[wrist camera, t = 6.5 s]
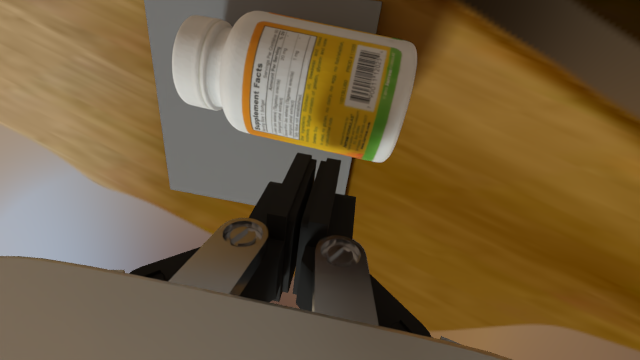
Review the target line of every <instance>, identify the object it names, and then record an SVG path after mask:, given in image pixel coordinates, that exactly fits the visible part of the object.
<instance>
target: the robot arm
mask: <svg viewBox="0 0 640 360" xmlns="http://www.w3.org/2000/svg"><path fill="white" fill-rule="evenodd" d="M316 163H317V160H316V159H312V155H309V154H303V153H297V154H296V156H295V158H294V160H293V162H292V164H291V166H290V168H289V170H288V172H287V174H286V176H285V178H284V180H283V182H282V183H277V182H272V181H270V182H269V183H268V185H267V187H266V188H265V190H264V192H263V194H262V195H261V197H260V199H259V201H258V202H257V204H256V206H255V208H254V209H253V211H252V213H251V215H250V216H249V218H237V219H232V220H230V221H228V222H226V223H224V224H223V225H222V226H220V228H219V229H218V230H217V231H216V232H215V233H214V234H213V235H212V236H211V237H210V238H209V239H208V240H207V241H206V242H205V243H204V244H203V245H202V246H201V247H199V248H196V249H193V250H190V251H187V252H184V253H181V254H178V255H175V256H172V257H169V258H166V259H163V260H160V261H157V262H154V263H151V264H148V265H145V266H142V267H140V268H138V269H136V270H133V271H132V272H130V273H129V274H128V273H125V271H124V270H107V269H102V268H97V267H92V266H86V265H80V264H74V263H68V262H61V261H56V260H49V259H43V258H31V257H21V256H0V360H512V359H509V358H506V357H503V356H500V355H497V354H494V353H491V352H488V351H484V350H480V349H476V348H472V347H468V346H464V345H461V344H459V343H456V342H454V341H452V340H449V339H447V338H444V337H442V336H441V338H440V339H436V338H433V337H431V335H430V333H429V332H428V330H427V329H426V328H425V327H424V326H423V324H422V323H420V322H419V321H418V320H417V319H416V318H415V317H414V316H413V315H412V314H411V313H410V312H409V311H408V310H407V309H406V308H405V307H404V306H403V305H402V304H401V303H400V302H399V301H398V300H396V299H395V298H394V297H393V296H392V295H391V294H390V293H389V292H388V291H387V290H386V289H385V288H384V287H383V286H382V285H381V284H380V283H379V282H378V281H377V280H376V279H375V278H374V277H372V276H371V275H370V274H369V268H368V263H367V257H366V253H365V251H364V249H363V247H362V246H361V245H360V244H359V243H358V242H356V241H355V240H353V239H352V236H353V225H354V213H355V202H356V197H353V196H348V195H342V194H337V193H336V188H337V183H338V177H339V171H340V166H341V160H337V159H332V158H327V160H326V161H321V162H320V165H319V168H318V171H317V174H316V177H315V171H316ZM314 178H315V180H314ZM295 267H296V270H295ZM294 271H295V279H294V288H293V294H297V299H296V304H297V305H298V306H299V308H300V309H297V308H293V307H288V306H283V305H278V304H274V303H269V302H270V301H272V300H274V301H278V302H279V301H280V297H281V294H282V292H287V293H288V291H289V288H290V284H291V281H292V278H293V274H294Z"/></svg>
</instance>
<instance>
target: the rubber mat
mask: <svg viewBox="0 0 640 360" xmlns="http://www.w3.org/2000/svg"><path fill="white" fill-rule="evenodd" d="M144 3H145V10H146V17H147V25H148V32H149V39H150V46H151V53H152V60H153V68H154V75H155V82H156V89H157V96H158V103H159V110H160V118H161V125H162V132H163V139H164V146H165V153H166V161H167V168H168V175H169V182H170V189H172V190H177V191H183V192H188V193H193V194H198V195H204V196H209V197H214V198H219V199H225V200H230V201H235V202H240V203H246V204H251V205H256V204H257V202H258V201H259V199H260V197H261V195H262V194H263V192H264V190H265V188H266V187H267V185H268V183H269V182H270V181H272V182H277V183H282V182H283V180H284V178H285V176H286V174H287V172H288V170H289V168H290V166H291V164H292V162H293V160H294V158H295V156H296V154H297V153H303V154H309V155H312V159H316V160H317V163H316V171H315V177H316V174H317V171H318V168H319V165H320V162H321V161H326V160H327V158H332V159H337V160H341V166H340V171H339V177H338V183H337V188H336V193H337V194H342V195H345V190H346V185H347V180H348V175H349V170H350V165H351V160H352V157H350V156H345V155H341V154H336V153H332V152H327V151H323V150H319V149H315V148H310V147H306V146H301V145H296V144H292V143H287V142H283V141H279V140H274V139H270V138H265V137H260V136H256V135H252V134H249V133H245V132H242V131H239V130H237V129H236V128H234V127H233V126H232V125H231V124H230V122H229V121H228V119H227V118H226V116H225V113H224V111H223V109H221V110H218V111H215V110H212V109H206V108H202V107H197V106H193V105H190V104H187V103H186V102H184V101H183V100H182V99H181V97H180V96H179V94H178V92H177V90H176V87H175V84H174V80H173V73H172V53H173V46H174V42H175V39H176V35H177V32H178V30H179V28H180V26H181V25H182V23H183V22H184V21H185V20H186V19H187V18H189V17H190V16H193V15H199V16H205V17H210V18H218V19H221V20H223V21H226V22H228V23H229V24H230V25H231V26H232V27H233V26H234V24H235V23H236V22H237V21H238V19H239V18H240V17H242V16H243V15H244V14H246V13H249V12H252V11H264V12H271V13H276V14H281V15H285V16H290V17H295V18H300V19H305V20H309V21H314V22H318V23H323V24H328V25H333V26H338V27H343V28H347V29H352V30H358V31H363V32H367V33H372V34H376V31H377V26H378V20H379V15H380V10H381V5H382V2H380V1H373V0H144ZM314 180H315V178H314Z"/></svg>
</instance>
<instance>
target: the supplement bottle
mask: <svg viewBox="0 0 640 360" xmlns="http://www.w3.org/2000/svg"><path fill="white" fill-rule="evenodd" d="M416 68H417V51H416V47H415V45H414V44H413V43H411V42H409V41H405V40H401V39H397V38H392V37H387V36H382V35H377V34H372V33H367V32H363V31H358V30H352V29H347V28H343V27H338V26H333V25H328V24H323V23H318V22H314V21H309V20H305V19H300V18H295V17H290V16H285V15H281V14H276V13H271V12H264V11H252V12H249V13H246V14H244V15H243V16H242V17H240V18H239V19H238V21H237V22H236V23H235V24H234V26H233V27H232V26H231V25H230V24H229V23H228V22H226V21H223V20H221V19H218V18H210V17H205V16H199V15H193V16H190V17H189V18H187V19H186V20H185V21H184V22H183V23H182V25H181V26H180V28H179V30H178V32H177V35H176V39H175V42H174V46H173V53H172V73H173V80H174V84H175V87H176V90H177V92H178V94H179V96H180V97H181V99H182V100H183V101H184V102H186V103H187V104H190V105H193V106H197V107H202V108H206V109H212V110H215V111H218V110H221V109H223V111H224V113H225V116H226V118H227V119H228V121H229V122H230V124H231V125H232V126H233V127H234V128H236V129H237V130H239V131H242V132H245V133H249V134H252V135H256V136H260V137H265V138H270V139H274V140H279V141H283V142H287V143H292V144H296V145H301V146H306V147H310V148H315V149H319V150H323V151H327V152H332V153H336V154H341V155H345V156H350V157H354V158H358V159H363V160H368V161H374V162H383V161H385V160H386V159H387V158H388V157H389V156H390V155H391V153H392V151H393V149H394V147H395V144H396V142H397V139H398V136H399V133H400V130H401V127H402V124H403V121H404V118H405V114H406V111H407V108H408V104H409V100H410V96H411V93H412V88H413V84H414V79H415V74H416Z"/></svg>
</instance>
